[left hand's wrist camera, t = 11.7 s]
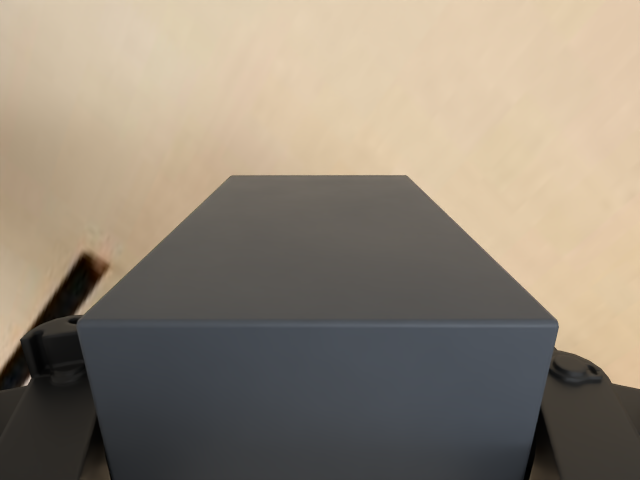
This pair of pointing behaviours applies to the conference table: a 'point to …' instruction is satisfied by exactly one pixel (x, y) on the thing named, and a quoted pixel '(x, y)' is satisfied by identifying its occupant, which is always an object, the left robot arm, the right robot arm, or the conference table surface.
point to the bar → (317, 342)
